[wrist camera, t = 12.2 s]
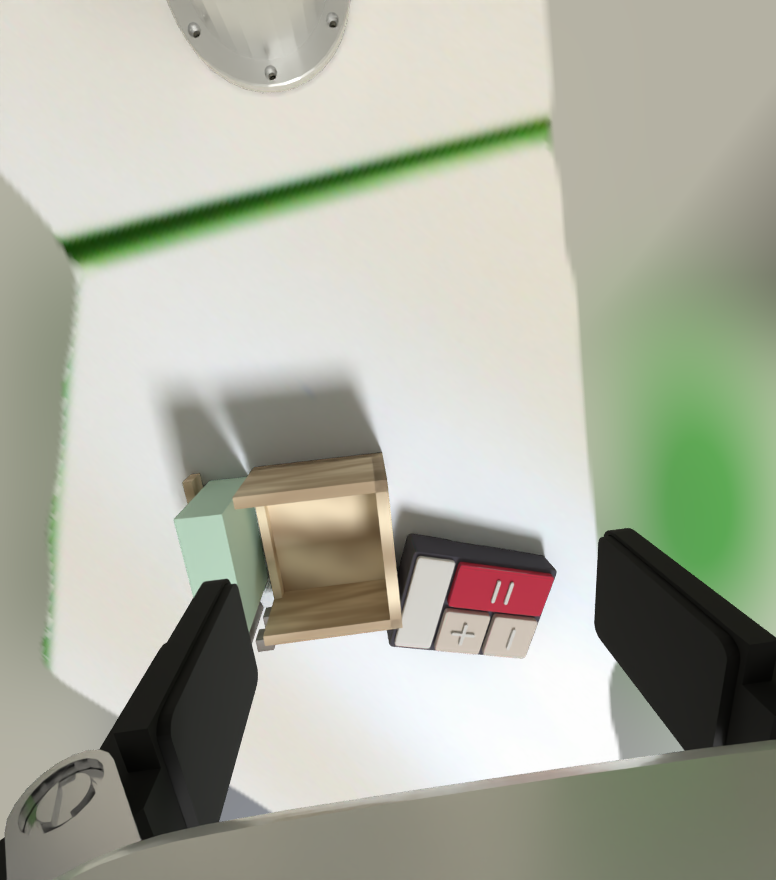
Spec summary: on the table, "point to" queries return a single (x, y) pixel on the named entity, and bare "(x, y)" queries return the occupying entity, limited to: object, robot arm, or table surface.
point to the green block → (223, 543)
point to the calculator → (469, 597)
